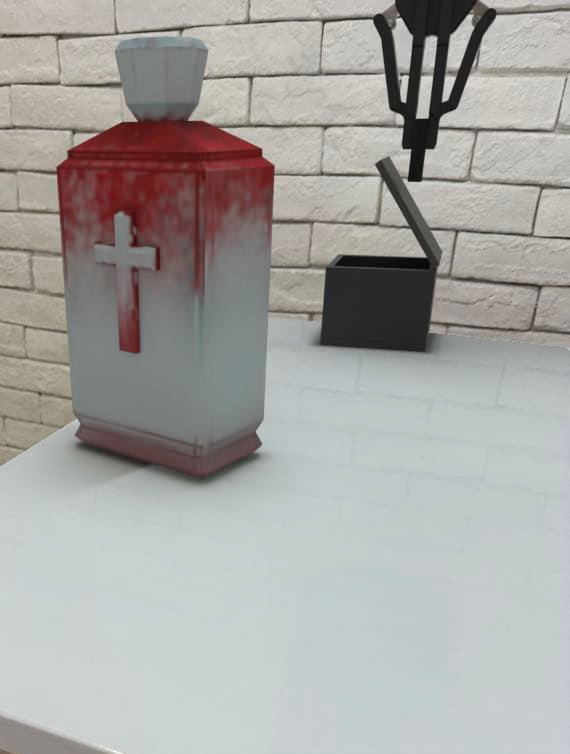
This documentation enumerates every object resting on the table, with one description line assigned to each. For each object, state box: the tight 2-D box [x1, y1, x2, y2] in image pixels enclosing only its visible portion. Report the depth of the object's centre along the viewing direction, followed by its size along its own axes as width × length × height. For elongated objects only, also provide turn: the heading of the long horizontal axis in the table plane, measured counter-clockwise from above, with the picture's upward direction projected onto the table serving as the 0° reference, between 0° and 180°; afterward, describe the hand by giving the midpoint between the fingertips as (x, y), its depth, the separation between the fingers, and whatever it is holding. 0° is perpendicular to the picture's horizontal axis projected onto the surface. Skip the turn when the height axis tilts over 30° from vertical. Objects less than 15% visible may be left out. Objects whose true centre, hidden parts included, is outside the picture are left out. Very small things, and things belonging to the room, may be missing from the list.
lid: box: [374, 155, 443, 269], centre depth 97 cm, size 13×11×1 cm
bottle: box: [55, 35, 276, 480], centre depth 63 cm, size 14×10×30 cm
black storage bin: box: [319, 253, 439, 352], centre depth 102 cm, size 13×11×9 cm
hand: (414, 181), depth 95 cm, fingers closed
